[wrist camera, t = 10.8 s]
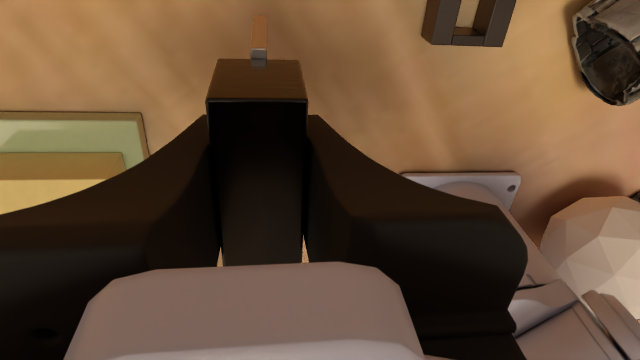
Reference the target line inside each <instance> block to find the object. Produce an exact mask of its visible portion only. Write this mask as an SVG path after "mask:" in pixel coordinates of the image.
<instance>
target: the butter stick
mask: <svg viewBox="0 0 640 360" xmlns="http://www.w3.org/2000/svg"><path fill="white" fill-rule="evenodd" d="M124 171H126V169H125V165H124V161H123V156H122V153H0V214H4V213H8V212H12V211H16V210H20V209H24V208H28V207H32V206H36V205H39V204H43V203H46V202H49V201H52V200H55V199H58V198H61V197H65V196H67V195H70V194H73V193H76V192H79V191H81V190H84V189H86V188H89V187H91V186H93V185H96V184H98V183H100V182H102V181H105V180H107V179H109V178H112V177H114V176H116V175H118V174H120V173H122V172H124Z"/></svg>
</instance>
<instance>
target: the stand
mask: <svg viewBox="0 0 640 360" xmlns="http://www.w3.org/2000/svg"><path fill="white" fill-rule="evenodd" d="M515 3H516V0H480V3H479V6H478V10H477V14H476V18H475V22H474V25H473V29H472V28H455V25H456V20H457V16H458V12H459V8H460V4H461V0H428V4H427V9H426V14H425V19H424V24H423V29H422V34H421V36H422V37H423V38H424V39H425V40H426V41H428V42H429V43H430V44H431V45H456V46H483V47H502V45H503V42H504V39H505V36H506V33H507V29H508V26H509V23H510V20H511V16H512V13H513V10H514V7H515Z"/></svg>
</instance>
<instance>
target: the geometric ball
mask: <svg viewBox="0 0 640 360" xmlns="http://www.w3.org/2000/svg"><path fill="white" fill-rule="evenodd" d="M540 252H541V253H542V254H543V256H544V257H545V258H546V259H547V261H548V262H549V263H550V265H551V266H552V267H553V268H554V270H555V271H556V272H557V273H558V275H559V276H560V277H561V278H562V280H563V281H564V282H565V283H566V284H567V285H568V286H569V287H570V288H571V290H572V291H573V292H574V293H575V294H576V295H577V296H578V297H579V298H580V300H581V301H582V302H583V303H584V304H585V305H586V306H587V307H588V309H589V310H590V311H591V312H592V313H593V314H594V312H593V311H592V310H591V308H590V307H589V306H588V305H587V303H586V302H585V301H584V299H583V298H582V296H581V295H583V294H584V293H586V292H588V291H589V290H595V291H597V292H598V293H599V294H600V293H605V294H609V295H613V296H615V297H616V298H617V299H618V300H619V301H620V302H621V303H622V304H623V306H624V307H625V308H626V309H627V310H628V311H629V312H630V313H631V314H632V315H633V316H634V318H635V319H636V320H637V319H640V203H639V202H637V201H635V200H633V199H630V198H628V197H626V196H612V197H590V198H582V199H580V200H578V201H576V202H575V203H573V204H571V205H570V206H568V207H566V208H565V209H563V210H561V211H560V212H558V213H556V214H554V215H553V216H551V218H550V220H549V223H548V225H547V228H546V230H545V232H544V235H543V237H542V241H541V244H540ZM594 315H595V314H594ZM595 317H596V315H595ZM596 318H597V317H596Z"/></svg>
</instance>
